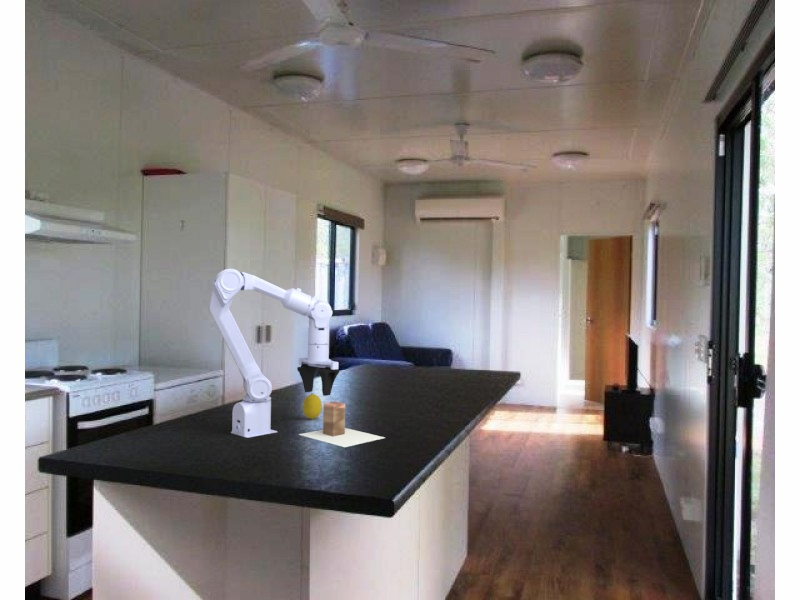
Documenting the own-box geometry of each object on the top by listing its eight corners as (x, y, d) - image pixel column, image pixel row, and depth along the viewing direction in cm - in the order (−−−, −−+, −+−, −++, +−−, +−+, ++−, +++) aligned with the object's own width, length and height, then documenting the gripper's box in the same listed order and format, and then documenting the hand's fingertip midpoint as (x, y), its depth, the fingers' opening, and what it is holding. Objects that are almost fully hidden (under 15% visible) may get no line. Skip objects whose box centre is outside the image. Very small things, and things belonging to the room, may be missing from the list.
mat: (344, 449, 137) (344, 447, 137) (298, 436, 149) (298, 434, 149) (385, 439, 148) (385, 437, 148) (338, 428, 160) (338, 426, 160)
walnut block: (333, 436, 148) (333, 405, 148) (323, 433, 150) (323, 403, 150) (344, 434, 151) (345, 403, 151) (334, 431, 153) (335, 401, 153)
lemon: (323, 419, 172) (323, 392, 172) (318, 422, 166) (319, 395, 166) (305, 418, 172) (305, 391, 172) (300, 422, 167) (300, 394, 167)
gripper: (347, 345, 156) (346, 395, 156) (312, 341, 166) (311, 389, 166) (327, 346, 151) (326, 398, 151) (293, 342, 160) (292, 391, 160)
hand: (317, 393), depth 158 cm, fingers open, 7 cm apart
